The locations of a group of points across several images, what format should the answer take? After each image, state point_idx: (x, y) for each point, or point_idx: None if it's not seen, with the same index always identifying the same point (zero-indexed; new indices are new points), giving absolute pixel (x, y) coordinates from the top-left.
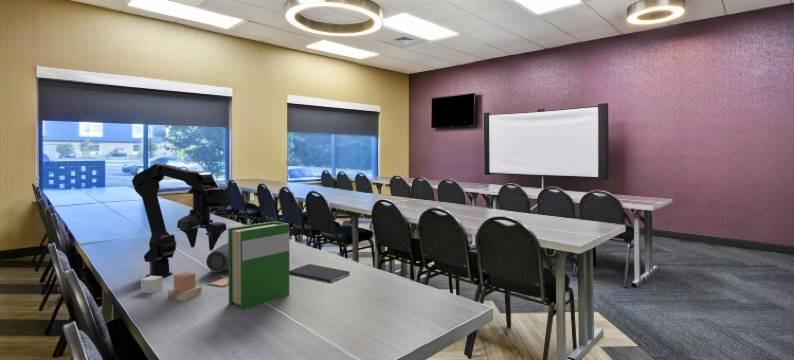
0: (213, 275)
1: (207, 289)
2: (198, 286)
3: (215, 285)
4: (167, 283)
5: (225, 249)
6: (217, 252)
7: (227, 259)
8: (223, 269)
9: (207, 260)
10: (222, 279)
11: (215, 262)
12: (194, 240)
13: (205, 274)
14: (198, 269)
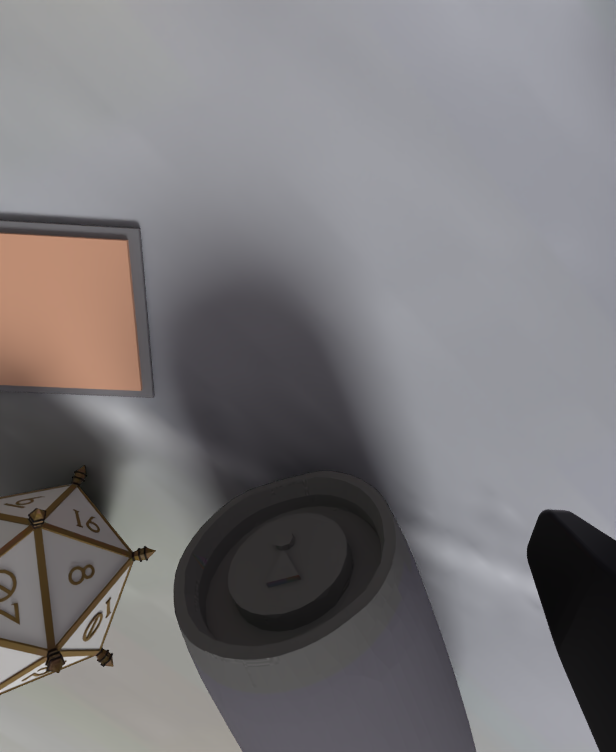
0: (311, 450)
1: (8, 101)
2: None
3: (33, 224)
4: (550, 100)
5: (258, 738)
6: (267, 644)
7: (176, 601)
8: (224, 508)
9: (383, 531)
10: (122, 377)
11: (307, 544)
12: (612, 711)
13: (393, 447)
14: None
